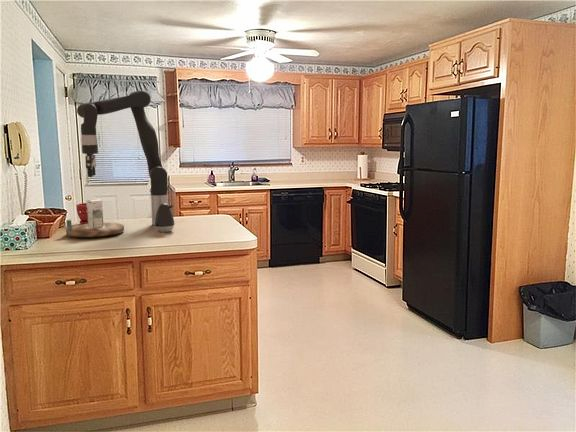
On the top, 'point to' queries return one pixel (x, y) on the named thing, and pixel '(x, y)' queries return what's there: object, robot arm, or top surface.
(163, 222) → the pump dispenser
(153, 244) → the top surface
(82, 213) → the plant pot
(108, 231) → the disc
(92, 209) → the syrup box
